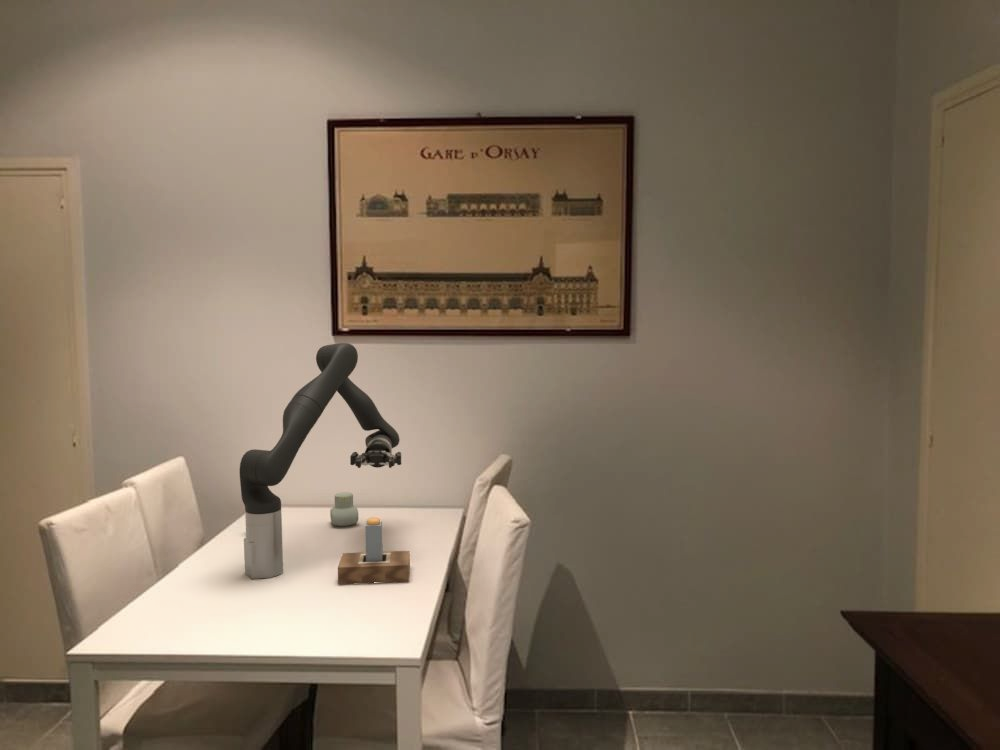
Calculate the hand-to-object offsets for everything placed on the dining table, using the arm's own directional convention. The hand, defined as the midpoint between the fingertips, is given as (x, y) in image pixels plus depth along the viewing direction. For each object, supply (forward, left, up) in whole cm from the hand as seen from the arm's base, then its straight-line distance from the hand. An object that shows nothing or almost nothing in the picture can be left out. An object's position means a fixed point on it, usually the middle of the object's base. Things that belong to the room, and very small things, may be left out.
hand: (374, 464), depth 220 cm
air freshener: (+9, +41, -28) cm, 50 cm away
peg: (-5, -10, -28) cm, 30 cm away
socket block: (-5, -10, -28) cm, 30 cm away
